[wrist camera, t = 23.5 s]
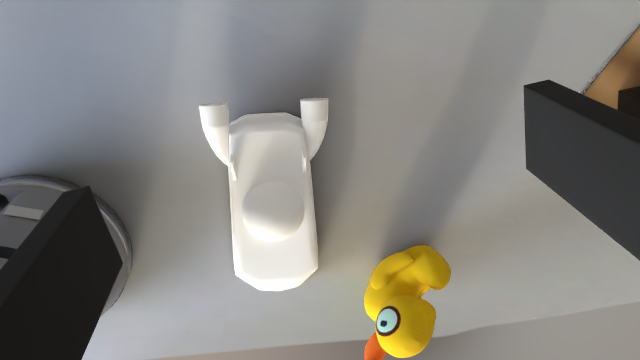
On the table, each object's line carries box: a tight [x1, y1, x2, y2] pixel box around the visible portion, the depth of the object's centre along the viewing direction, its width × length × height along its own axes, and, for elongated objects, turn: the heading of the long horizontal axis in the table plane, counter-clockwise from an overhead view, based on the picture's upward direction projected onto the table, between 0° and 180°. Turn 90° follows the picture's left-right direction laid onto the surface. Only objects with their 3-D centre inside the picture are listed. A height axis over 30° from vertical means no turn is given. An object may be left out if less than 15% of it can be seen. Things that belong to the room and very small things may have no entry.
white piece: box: [199, 98, 328, 291], centre depth 44 cm, size 10×20×6 cm, turn 1°
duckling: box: [364, 245, 451, 360], centre depth 48 cm, size 11×5×10 cm, turn 138°
